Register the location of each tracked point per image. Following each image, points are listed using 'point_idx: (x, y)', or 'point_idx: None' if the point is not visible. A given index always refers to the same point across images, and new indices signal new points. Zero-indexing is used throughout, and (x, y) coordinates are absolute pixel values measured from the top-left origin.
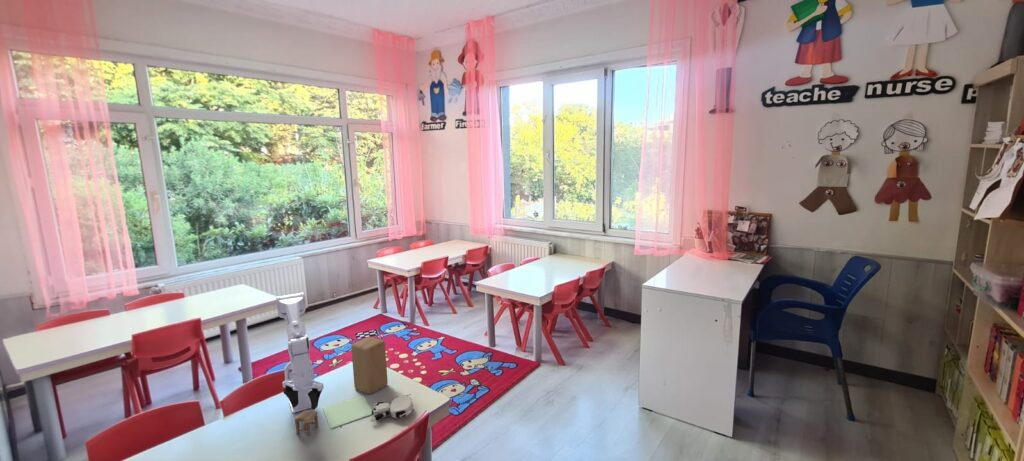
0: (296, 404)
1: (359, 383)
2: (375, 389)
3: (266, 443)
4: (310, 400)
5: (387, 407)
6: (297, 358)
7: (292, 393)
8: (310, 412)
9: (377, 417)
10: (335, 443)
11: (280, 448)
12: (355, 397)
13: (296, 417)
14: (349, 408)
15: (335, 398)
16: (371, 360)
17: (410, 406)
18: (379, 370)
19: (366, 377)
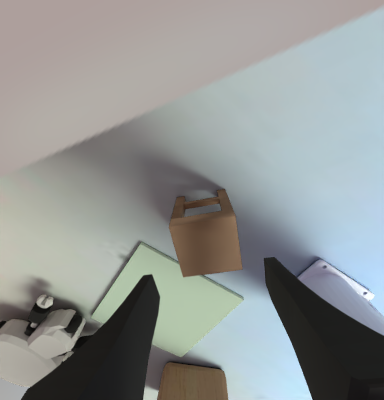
0: (267, 279)
1: (201, 394)
2: (161, 379)
3: (293, 109)
4: (122, 327)
5: (28, 346)
6: None
7: (318, 360)
8: (203, 265)
9: (32, 310)
10: (68, 197)
11: (216, 108)
12: (190, 348)
13: (234, 223)
14: (166, 316)
15: (243, 333)
16: None
17: None
18: None
19: None
